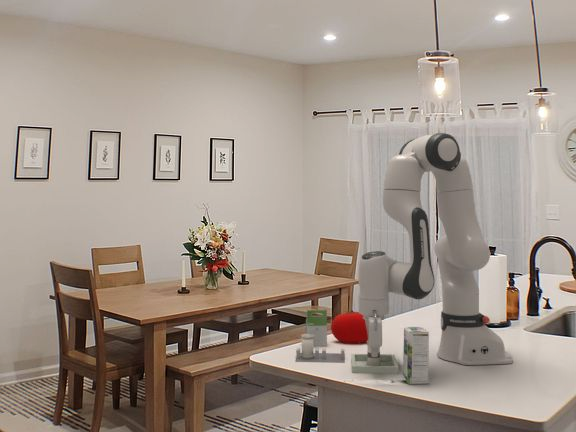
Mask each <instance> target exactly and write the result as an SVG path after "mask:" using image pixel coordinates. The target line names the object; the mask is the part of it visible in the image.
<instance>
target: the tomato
mask: <svg viewBox="0 0 576 432" xmlns="http://www.w3.org/2000/svg"><path fill="white" fill-rule="evenodd" d="M343 312H344V313H341V314H338V315H336V316H335V317H334V319H333V320H332V322H331V324H330V330H331V333H332V335H333V337H334V338H335V339H336V341H339V342H340V343H342V344H350V345H352V344H353V345H355V344H356V345H357V344H365V343H366V344H367V340H368V335H367V329H366V323H365V319H363V315H362V314H360V313H359V311H354V310H353V309H352V310H350V311H348V310H347V311H346V310H345V311H343Z"/></svg>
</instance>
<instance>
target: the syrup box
mask: <svg viewBox="0 0 576 432" xmlns="http://www.w3.org/2000/svg"><path fill="white" fill-rule="evenodd" d="M429 339H430V332H429V331H427V329H426V328H424V327H421V326H407V327H404V328H403V360H402V361H403V362H402V364H403V368H402V369H403V371H402V374H403V377H404V379H405V382H406V383H407V384H408V385H424V384H425V385H427V384H429V358H430V357H429V355H430V354H429V352H430V351H429V350H430V349H429V347H430V344H429V343H430V341H429Z"/></svg>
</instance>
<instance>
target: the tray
mask: <svg viewBox="0 0 576 432" xmlns="http://www.w3.org/2000/svg"><path fill="white" fill-rule="evenodd" d="M350 356H351V357H350V358H351V373H353V374H389V375H391V374H394V375H397V374H399V364H398V361H397V359H396V358H397V357H396V355H395V354H388V353H387V354H385V353H384V354H383V353H380V362H391V365H380V366H368V365H360V364H359V365H357V364H356V362H367V361H368V357H367V353H351V355H350Z"/></svg>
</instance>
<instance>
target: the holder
mask: <svg viewBox="0 0 576 432" xmlns="http://www.w3.org/2000/svg"><path fill="white" fill-rule="evenodd" d="M300 339H301V347H296V351H295V352H296V356H295V360H294V362H295V363H331V364H332V363H335V364H336V363H340V364H345V363H346V358H345V357H346V356H345V355H346V354H345V348H341V349H340V353H333V352H332V353H331V352H330V353H329V352H327V349H326V348H323V347H322V349H321V350H322V351H321V352H320V349H319V347H317V348H316V347H315V349H314V347H313V339H314V335H313V334H309V333H306V332H305V333H301V335H300Z"/></svg>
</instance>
